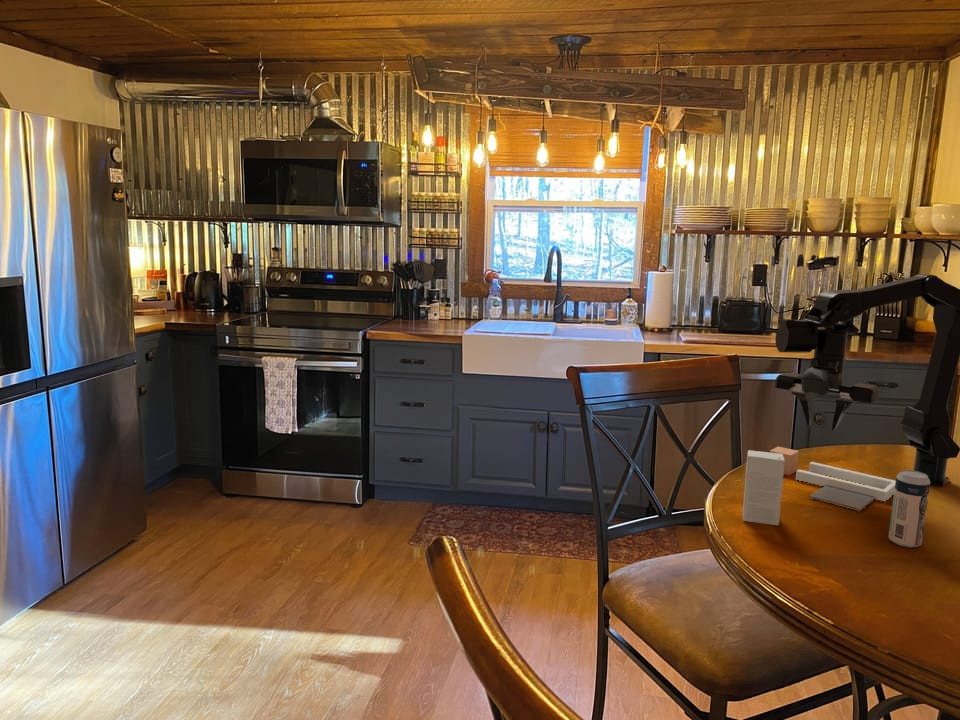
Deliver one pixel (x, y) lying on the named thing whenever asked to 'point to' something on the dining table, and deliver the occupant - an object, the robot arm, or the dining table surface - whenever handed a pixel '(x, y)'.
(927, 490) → the beer can
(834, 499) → the coaster
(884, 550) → the dining table surface
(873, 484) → the channel
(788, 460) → the block
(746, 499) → the skincare box
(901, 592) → the dining table surface
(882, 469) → the dining table surface
